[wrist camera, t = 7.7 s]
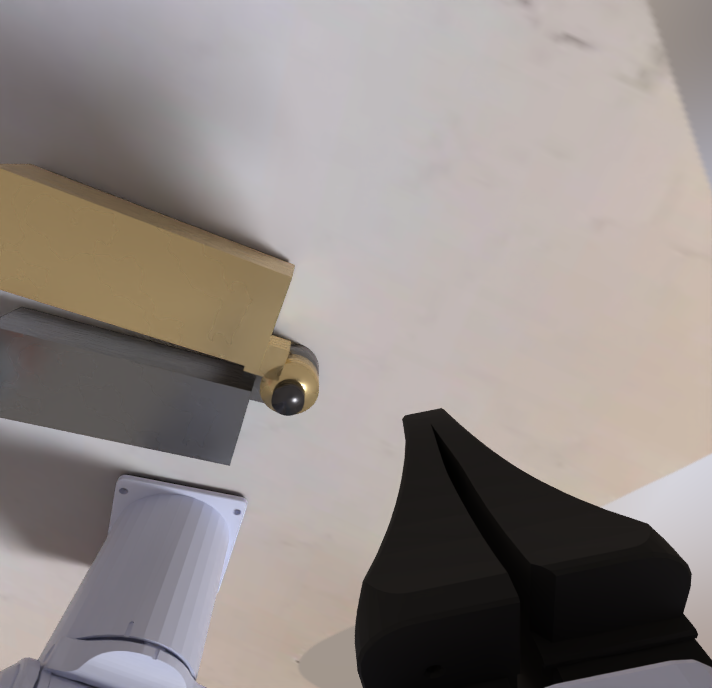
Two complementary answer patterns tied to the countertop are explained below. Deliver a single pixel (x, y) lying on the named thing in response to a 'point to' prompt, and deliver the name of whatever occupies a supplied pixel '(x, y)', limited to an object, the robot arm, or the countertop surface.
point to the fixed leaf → (128, 387)
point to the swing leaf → (146, 274)
